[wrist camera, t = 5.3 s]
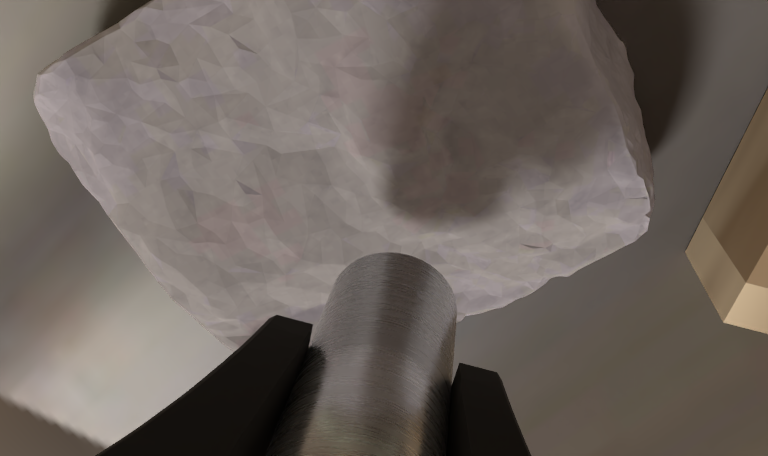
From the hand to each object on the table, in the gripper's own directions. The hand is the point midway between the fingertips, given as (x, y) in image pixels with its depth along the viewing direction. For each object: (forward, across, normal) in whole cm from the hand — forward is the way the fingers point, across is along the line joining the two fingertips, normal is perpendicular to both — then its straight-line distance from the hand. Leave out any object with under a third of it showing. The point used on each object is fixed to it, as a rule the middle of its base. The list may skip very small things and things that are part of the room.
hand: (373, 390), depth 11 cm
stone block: (+8, +2, -2) cm, 8 cm away
